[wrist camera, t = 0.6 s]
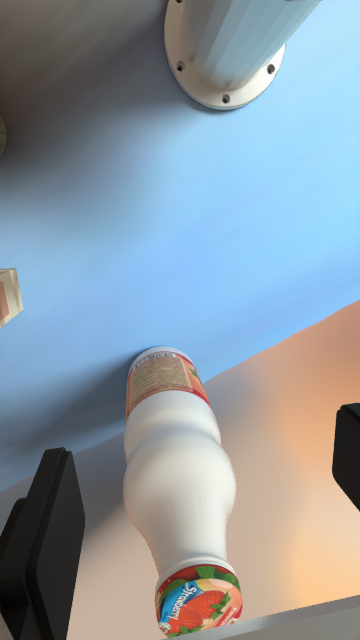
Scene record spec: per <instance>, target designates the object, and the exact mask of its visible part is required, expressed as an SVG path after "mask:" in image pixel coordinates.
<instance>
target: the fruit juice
mask: <svg viewBox="0 0 360 640" xmlns="http://www.w3.org/2000/svg"><path fill="white" fill-rule="evenodd" d="M124 447H125V456H126V460H127V463H128V466H127V469H126V473H125V477H124V485H123V489H124V491H123V492H124V503H125V507H126V511H127V514H128V516H129V518H130V520H131V522H132V524H133V525H134V526H135V527H136V529H137V530H138V531H139V532H140V533H141V534H142V536H143V537H144V539H145V540H146V542H147V544H148V546H149V548H150V550H151V553H152V556H153V559H154V561H155V564H156V567H157V570H158V574H159V580H158V582H157V585H156V590H155V593H156V596H155V608H156V616H157V620H158V624H159V627H160V629H161V631H162V632H163V633H164V634H165V635H166V636H167V637H169V638H172V637H176V636H180V635H185V634H189V633H193V632H197V631H202V630H206V629H210V628H215V627H219V626H223V625H228V624H232V623H236V622H237V620H238V619H239V617H240V614H241V611H242V596H241V591H240V586H239V582H238V579H237V578H236V575H235V572H234V570H233V568H232V567H231V566H230V564H228V562H227V555H226V524H227V520H228V518H229V516H230V514H231V511H232V509H233V506H234V502H235V497H236V480H235V474H234V471H233V468H232V464H231V461H230V460H229V458H228V456H227V454H226V453H225V451H224V450H223V448H222V447H221V438H220V432H219V429H218V425H217V421H216V418H215V416H214V413H213V411H212V409H211V406H210V404H209V401H208V399H207V396H206V393H205V391H204V388H203V386H202V383H201V381H200V378H199V376H198V373H197V371H196V368H195V366H194V364H193V362H192V361H191V359H190V358H189V357H188V356H187V355H186V354H185V353H184V352H182V351H181V350H179V349H176V348H174V347H169V346H158V347H153V348H150V349H148V350H146V351H144V352H143V353H141V354H140V355H139V356H138V357H137V358H136V359H135V360H134V362H133V363H132V365H131V367H130V370H129V373H128V378H127V396H126V415H125V430H124Z"/></svg>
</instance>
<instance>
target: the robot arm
mask: <svg viewBox="0 0 360 640" xmlns="http://www.w3.org/2000/svg"><path fill="white" fill-rule="evenodd" d="M177 1H180V2H181V3H178V2H177ZM321 1H322V0H169V2H168V6H167V11H166V16H165V24H164V45H165V51H166V56H167V60H168V63H169V66H170V68H171V71H172V73H173V75H174V77H175V79H176V80H177V82H178V84H179V85H180V86H181V87H182V89H183V90H184V91H185V92H186V93H187V94H188V95H189V96H190V97H191V98H192V99H194V100H195V101H196V102H198V103H200V104H202V105H203V106H205V107H209V108H212V109H215V110H232V109H238V108H240V107H243V106H245V105H247V104H249V103H250V102H252V101H254V100H255V99H257V98H258V97H259V96H260V95H261V94H262V93H263V92H264V91H265V90H266V88H267V87H268V86H269V85H270V84H271V83H272V81H273V79H274V78H275V76H276V74H277V72H278V70H279V68H280V65H281V62H282V60H283V56H284V51H285V47H286V42H287V40H288V39H289V38H290V37H291V36H292V35H293V33H294V32H295V31H296V30H297V29H298V27H299V26H300V25H301V24H302V23H303V22H304V20H305V19H306V18H307V17H308V16H309V15H310V13H311V12H312V11H313V10H314V9H315V8H316V6H317V5H318V4H319V3H320V2H321ZM179 67H180V68H181V69H182V71H178V68H179ZM267 70H268V71H269V72H270V74H269V73H268V72H267ZM223 99H224V100H226V103H223V101H222V100H223ZM332 473H333V477H334V479H335V481H336V482H337V484H338V485H339V486H340V487H341V489H342V490H343V491H344V492H345V494H346V495H347V496H348V497H349V499H350V500H351V501H352V502H353V504H354V505H355V506H356V507H357V509H358V510H359V511H360V403H352V404H346V405H342V406H341V408H340V410H338V411H337V415H336V428H335V441H334V452H333V465H332ZM84 528H85V513H84V508H83V504H82V498H81V494H80V489H79V485H78V480H77V475H76V470H75V465H74V460H73V455H72V452H71V451H66V449H65V448H64V447H61V448H55V449H48V450H46V451H45V452H44V454H43V457H42V460H41V462H40V465H39V467H38V470H37V472H36V475H35V477H34V480H33V482H32V485H31V487H30V490H29V492H28V495H27V497H26V498H20V499H18V500H17V501H16V503H15V504H14V506H13V509H12V511H11V513H10V516H9V518H8V520H7V523H6V525H5V527H4V530H3V532H2V534H1V536H0V640H66V637H67V632H68V626H69V619H70V613H71V607H72V601H73V595H74V589H75V583H76V577H77V571H78V564H79V559H80V553H81V546H82V540H83V534H84ZM163 640H360V595H357V596H352V597H348V598H344V599H339V600H334V601H330V602H325V603H321V604H317V605H312V606H308V607H303V608H298V609H294V610H290V611H285V612H281V613H277V614H272V615H267V616H263V617H258V618H254V619H250V620H245V621H241V622H236V623H232V624H228V625H223V626H219V627H215V628H210V629H206V630H202V631H197V632H193V633H189V634H185V635H180V636H176V637H172V638H168V639H163Z"/></svg>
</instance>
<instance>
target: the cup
mask: <svg viewBox="0 0 360 640" xmlns="http://www.w3.org/2000/svg"><path fill="white" fill-rule="evenodd" d="M6 142H7V132H6V127H5V123H4V121H3V118H2V116H1V114H0V156H1V155H2V153H3V151H4V149H5V147H6Z"/></svg>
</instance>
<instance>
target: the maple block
mask: <svg viewBox="0 0 360 640" xmlns="http://www.w3.org/2000/svg"><path fill="white" fill-rule="evenodd" d="M22 310H23V305H22V299H21V294H20V288H19V283H18V277H17V272H16V268H10V269H0V328H1V327H2V326H3V325H5V324H6V323H7V322H8V321H10V320H11V319H12V318H13V317H15V316H16V315H17V314H18V313H19V312H21V311H22Z"/></svg>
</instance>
